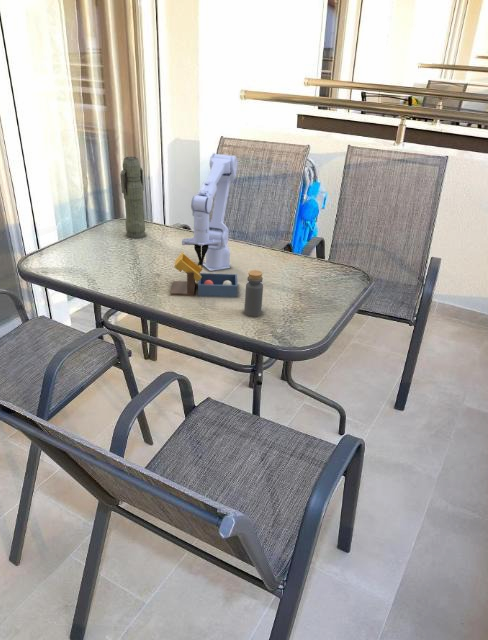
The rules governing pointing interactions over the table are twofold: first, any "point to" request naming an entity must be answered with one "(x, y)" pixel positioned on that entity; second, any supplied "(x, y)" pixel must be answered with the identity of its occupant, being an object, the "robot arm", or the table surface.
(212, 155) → the robot arm
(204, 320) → the table surface
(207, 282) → the ball coral
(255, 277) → the bottle
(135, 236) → the stone statue
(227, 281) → the ball cream
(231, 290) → the bin
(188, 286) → the dish stand
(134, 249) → the table surface
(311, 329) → the table surface
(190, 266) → the yellow tray
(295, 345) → the table surface
